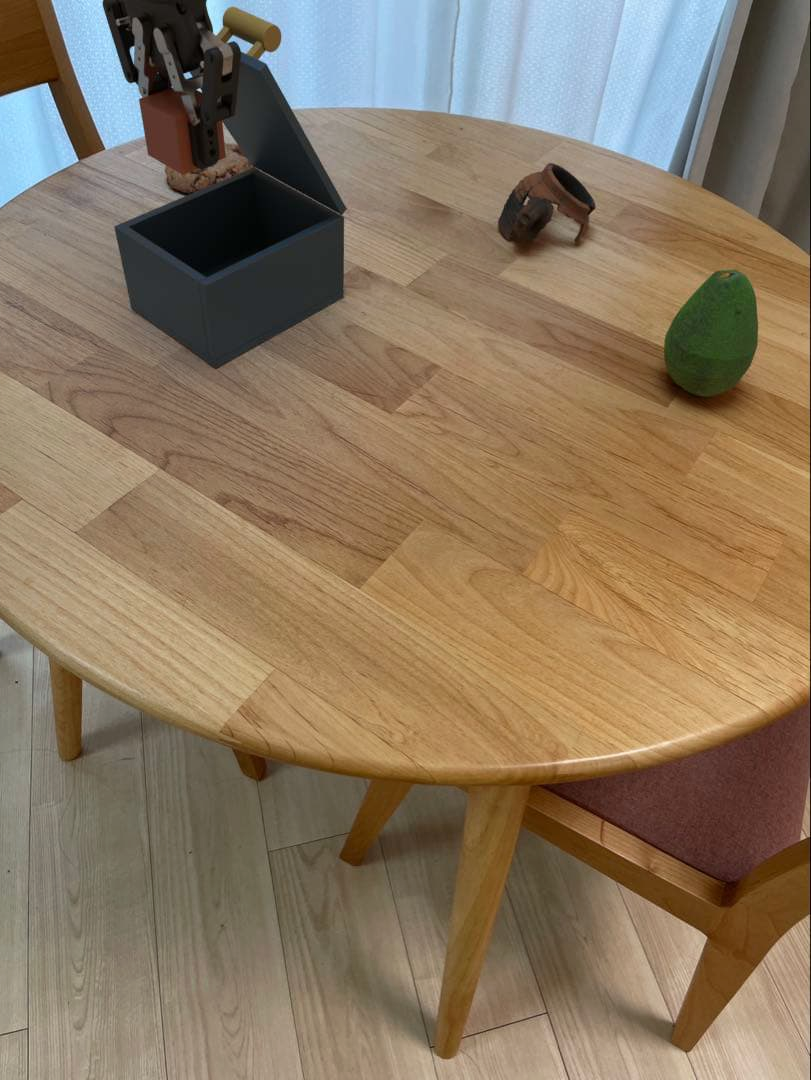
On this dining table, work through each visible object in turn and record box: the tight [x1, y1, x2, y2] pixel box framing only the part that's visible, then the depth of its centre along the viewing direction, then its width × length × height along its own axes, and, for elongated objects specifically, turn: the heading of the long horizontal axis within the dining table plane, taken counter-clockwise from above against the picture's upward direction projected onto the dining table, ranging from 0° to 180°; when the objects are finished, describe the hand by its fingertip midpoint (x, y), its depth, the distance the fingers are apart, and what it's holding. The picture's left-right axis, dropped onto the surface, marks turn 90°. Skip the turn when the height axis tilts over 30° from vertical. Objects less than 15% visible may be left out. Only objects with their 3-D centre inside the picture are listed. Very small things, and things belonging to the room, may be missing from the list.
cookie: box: [164, 141, 253, 194], centre depth 103 cm, size 10×11×3 cm
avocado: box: [663, 269, 759, 398], centre depth 79 cm, size 8×8×12 cm
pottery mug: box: [497, 162, 597, 245], centre depth 98 cm, size 12×10×8 cm
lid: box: [189, 6, 348, 216], centre depth 77 cm, size 18×13×5 cm
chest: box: [113, 167, 345, 369], centre depth 85 cm, size 17×13×9 cm
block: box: [138, 87, 226, 175], centre depth 72 cm, size 5×5×5 cm
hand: (186, 152), depth 73 cm, fingers closed on block, 4 cm apart
